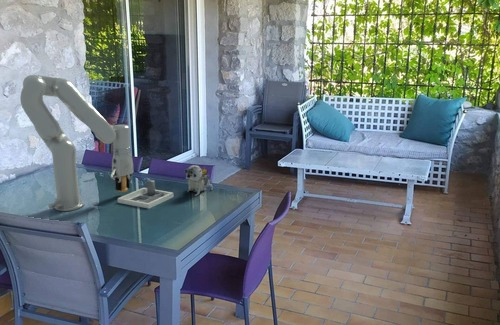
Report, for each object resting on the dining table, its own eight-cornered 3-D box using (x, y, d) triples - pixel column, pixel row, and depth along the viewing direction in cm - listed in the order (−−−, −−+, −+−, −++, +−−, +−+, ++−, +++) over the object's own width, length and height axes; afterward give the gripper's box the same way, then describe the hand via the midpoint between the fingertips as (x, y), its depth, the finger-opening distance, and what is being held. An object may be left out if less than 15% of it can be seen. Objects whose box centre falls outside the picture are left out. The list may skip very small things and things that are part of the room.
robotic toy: (177, 196, 233) (175, 166, 229) (197, 187, 248) (196, 158, 244) (199, 200, 227) (198, 169, 223) (219, 190, 242) (218, 161, 238)
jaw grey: (152, 199, 227) (151, 182, 225) (144, 197, 229) (143, 181, 227) (158, 196, 231) (157, 180, 229) (150, 195, 233) (149, 179, 231)
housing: (148, 210, 215) (148, 204, 214) (118, 204, 223) (117, 198, 222) (173, 198, 230) (173, 192, 229) (143, 193, 238) (143, 187, 238)
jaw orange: (123, 192, 229) (122, 176, 227) (115, 190, 231) (115, 174, 229) (129, 190, 233) (129, 174, 231) (122, 188, 235) (122, 172, 233)
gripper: (115, 155, 219) (115, 194, 223) (140, 149, 233) (140, 186, 237) (102, 153, 222) (103, 191, 226) (128, 147, 237) (128, 183, 241)
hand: (122, 188), depth 232 cm, fingers closed on jaw orange, 4 cm apart
